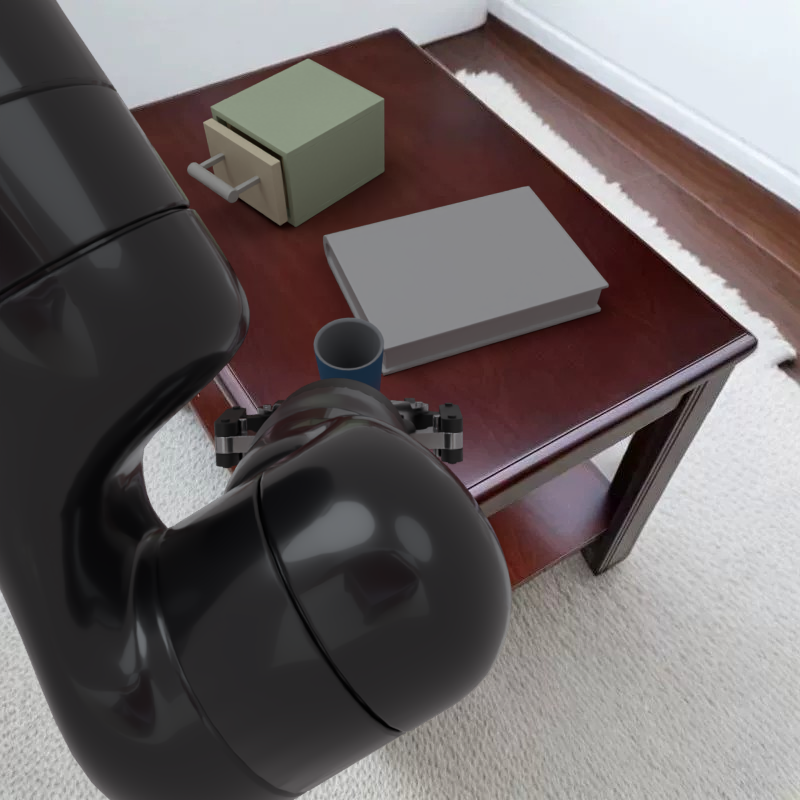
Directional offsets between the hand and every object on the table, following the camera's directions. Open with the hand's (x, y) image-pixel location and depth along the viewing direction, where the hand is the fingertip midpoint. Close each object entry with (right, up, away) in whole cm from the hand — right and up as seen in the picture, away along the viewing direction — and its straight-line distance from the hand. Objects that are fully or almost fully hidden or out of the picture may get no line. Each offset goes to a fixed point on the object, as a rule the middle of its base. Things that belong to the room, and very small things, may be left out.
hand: (346, 414), depth 50 cm
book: (+10, +13, +28) cm, 32 cm away
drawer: (-11, +26, +36) cm, 46 cm away
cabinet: (-8, +28, +39) cm, 49 cm away
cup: (0, -2, +16) cm, 16 cm away
